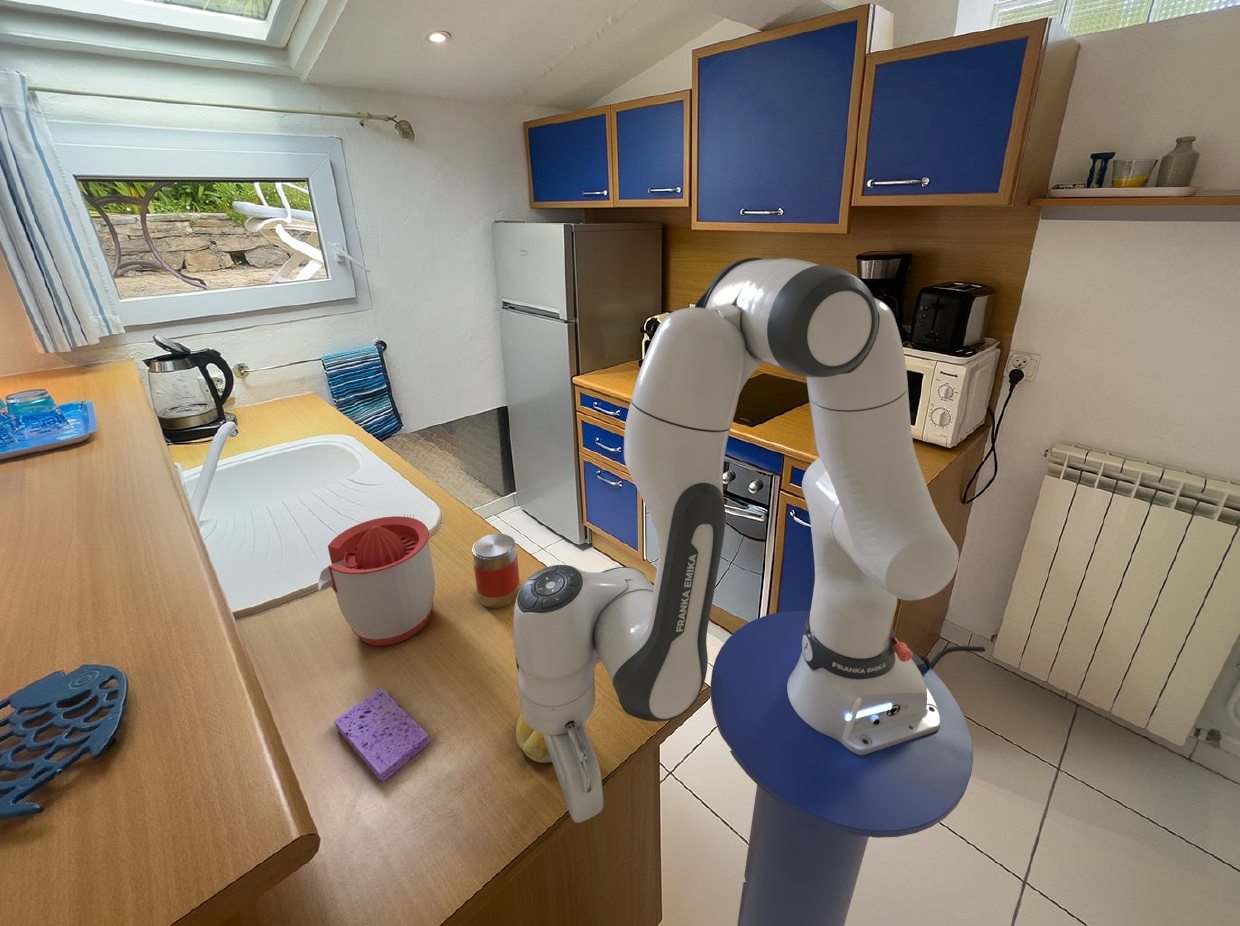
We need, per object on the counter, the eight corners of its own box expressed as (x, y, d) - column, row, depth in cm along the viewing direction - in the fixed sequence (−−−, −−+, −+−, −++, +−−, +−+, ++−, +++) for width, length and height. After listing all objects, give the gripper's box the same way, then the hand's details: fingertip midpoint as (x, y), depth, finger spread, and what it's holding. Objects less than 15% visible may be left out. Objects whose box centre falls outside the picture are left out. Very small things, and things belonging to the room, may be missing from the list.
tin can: (522, 579, 106) (518, 531, 101) (518, 607, 99) (513, 556, 94) (482, 581, 105) (475, 533, 101) (474, 610, 98) (467, 559, 94)
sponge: (383, 695, 81) (380, 686, 80) (431, 743, 74) (429, 733, 73) (335, 729, 76) (332, 720, 75) (382, 784, 69) (379, 774, 68)
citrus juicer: (332, 612, 97) (306, 518, 89) (434, 582, 105) (418, 492, 97) (335, 675, 84) (305, 571, 76) (450, 635, 92) (433, 537, 84)
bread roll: (555, 697, 81) (553, 677, 80) (589, 739, 75) (588, 719, 73) (504, 729, 76) (502, 708, 75) (536, 777, 70) (534, 756, 68)
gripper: (617, 756, 57) (617, 838, 62) (557, 626, 73) (562, 699, 79) (559, 783, 54) (565, 866, 59) (511, 642, 71) (519, 716, 76)
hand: (563, 770), depth 69 cm, fingers closed
